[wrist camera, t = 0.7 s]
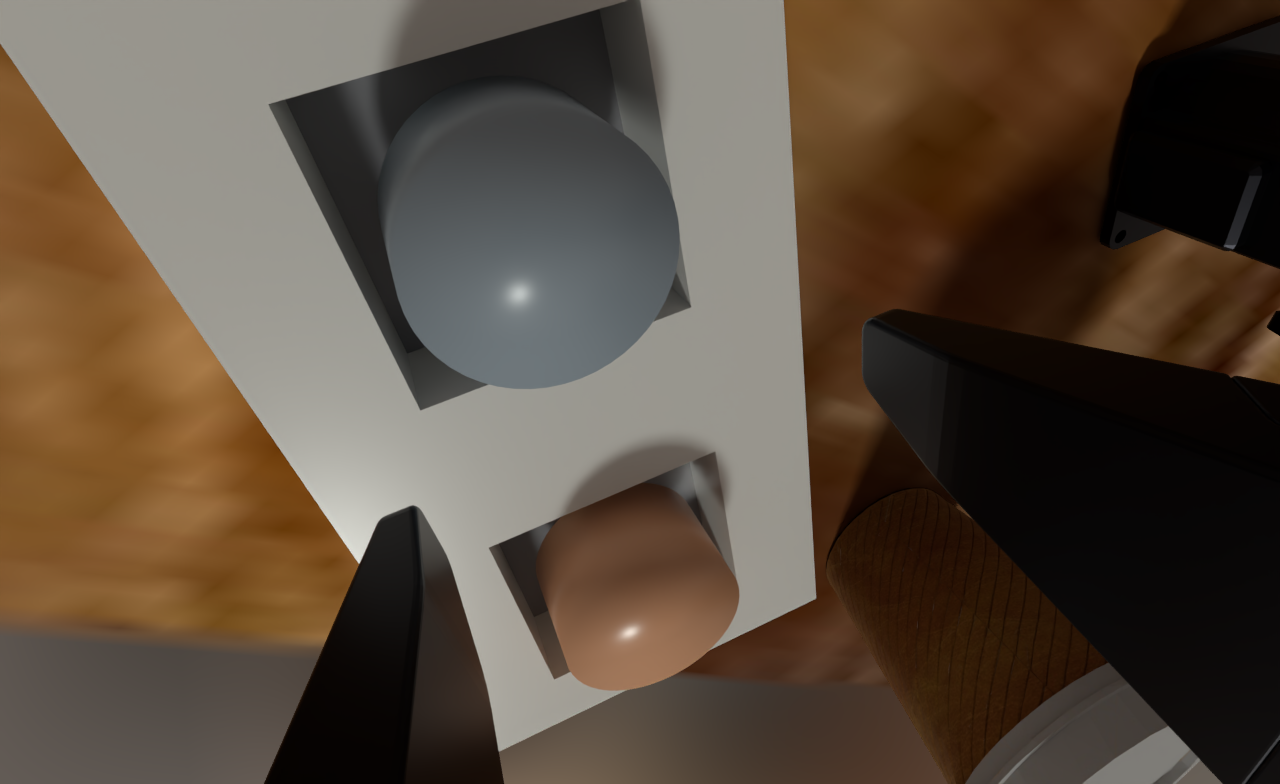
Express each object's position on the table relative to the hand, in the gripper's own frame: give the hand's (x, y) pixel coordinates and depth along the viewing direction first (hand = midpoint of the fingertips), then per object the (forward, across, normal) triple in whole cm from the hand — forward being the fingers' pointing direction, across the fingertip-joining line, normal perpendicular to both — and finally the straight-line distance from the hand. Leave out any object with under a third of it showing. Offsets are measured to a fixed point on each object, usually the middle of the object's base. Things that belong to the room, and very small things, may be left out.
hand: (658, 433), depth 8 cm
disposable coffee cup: (+11, -12, +22) cm, 27 cm away
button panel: (+11, 0, +5) cm, 12 cm away
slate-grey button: (+8, 0, 0) cm, 8 cm away
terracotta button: (+8, 0, +11) cm, 14 cm away
